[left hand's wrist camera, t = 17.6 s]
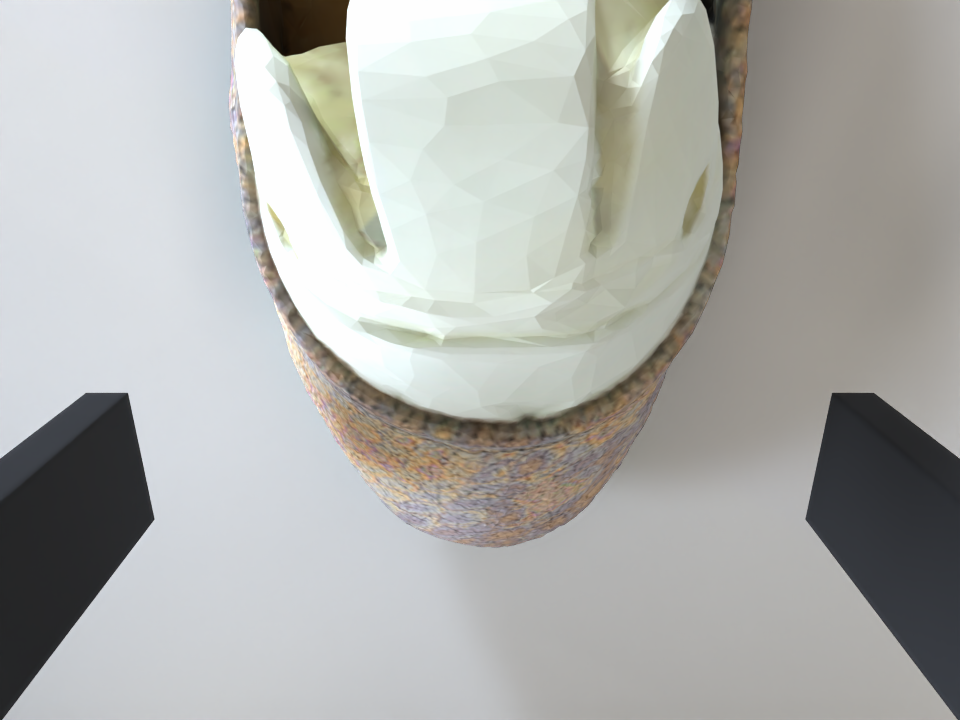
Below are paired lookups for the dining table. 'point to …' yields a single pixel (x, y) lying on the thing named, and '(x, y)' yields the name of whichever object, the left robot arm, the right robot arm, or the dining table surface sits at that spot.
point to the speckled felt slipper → (487, 231)
